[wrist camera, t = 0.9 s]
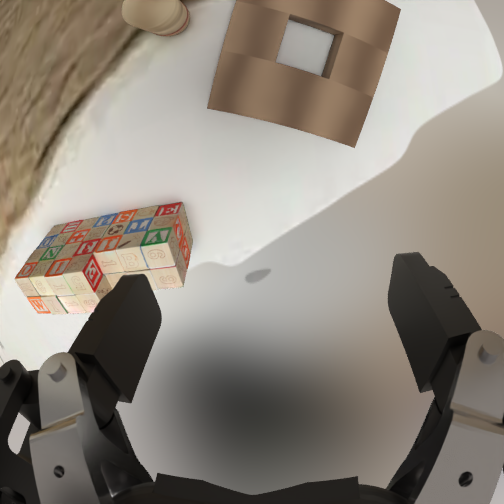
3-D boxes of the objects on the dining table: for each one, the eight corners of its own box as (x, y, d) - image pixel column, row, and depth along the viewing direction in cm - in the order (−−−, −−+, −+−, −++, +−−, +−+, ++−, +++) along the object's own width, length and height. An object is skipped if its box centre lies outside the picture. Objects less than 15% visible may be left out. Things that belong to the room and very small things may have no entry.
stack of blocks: (183, 199, 35) (162, 262, 25) (194, 240, 39) (181, 309, 29) (53, 225, 35) (12, 279, 26) (69, 258, 39) (36, 315, 29)
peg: (151, 37, 22) (115, 28, 14) (160, 4, 20) (128, -17, 12) (188, 40, 23) (166, 29, 15) (197, 7, 21) (179, -17, 13)
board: (209, 104, 28) (206, 108, 25) (251, -37, 18) (252, -46, 15) (345, 140, 31) (354, 147, 28) (388, 11, 21) (400, 9, 18)
